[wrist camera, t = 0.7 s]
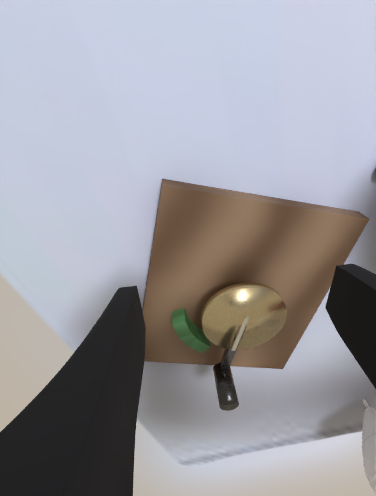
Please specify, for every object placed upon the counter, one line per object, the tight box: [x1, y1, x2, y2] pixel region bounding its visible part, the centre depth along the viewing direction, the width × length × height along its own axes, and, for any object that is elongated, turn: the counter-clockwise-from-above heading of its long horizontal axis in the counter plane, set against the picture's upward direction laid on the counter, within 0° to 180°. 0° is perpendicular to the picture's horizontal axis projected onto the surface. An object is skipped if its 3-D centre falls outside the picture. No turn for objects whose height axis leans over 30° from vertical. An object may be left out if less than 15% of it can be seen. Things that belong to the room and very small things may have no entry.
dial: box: [201, 282, 287, 410], centre depth 19 cm, size 10×6×3 cm, turn 169°
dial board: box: [142, 179, 369, 369], centre depth 21 cm, size 14×16×3 cm
